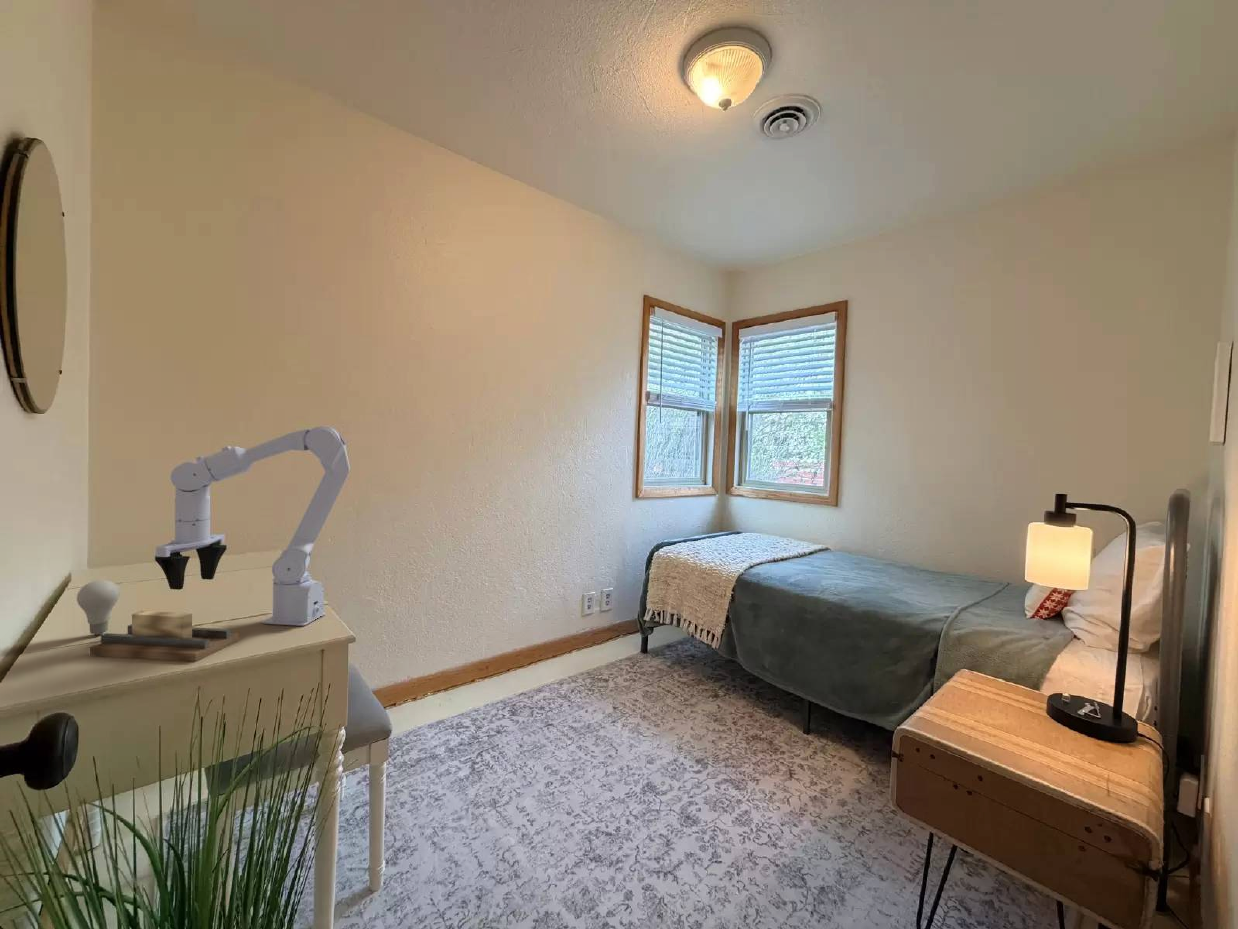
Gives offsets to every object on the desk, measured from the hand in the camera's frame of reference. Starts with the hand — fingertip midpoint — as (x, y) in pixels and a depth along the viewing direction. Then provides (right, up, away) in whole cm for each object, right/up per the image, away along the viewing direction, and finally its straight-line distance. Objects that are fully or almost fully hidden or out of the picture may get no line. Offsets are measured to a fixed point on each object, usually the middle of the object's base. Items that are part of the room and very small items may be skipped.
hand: (192, 583), depth 109 cm
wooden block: (+2, -8, -10) cm, 13 cm away
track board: (+3, -10, -10) cm, 14 cm away
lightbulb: (-15, -9, -5) cm, 18 cm away
